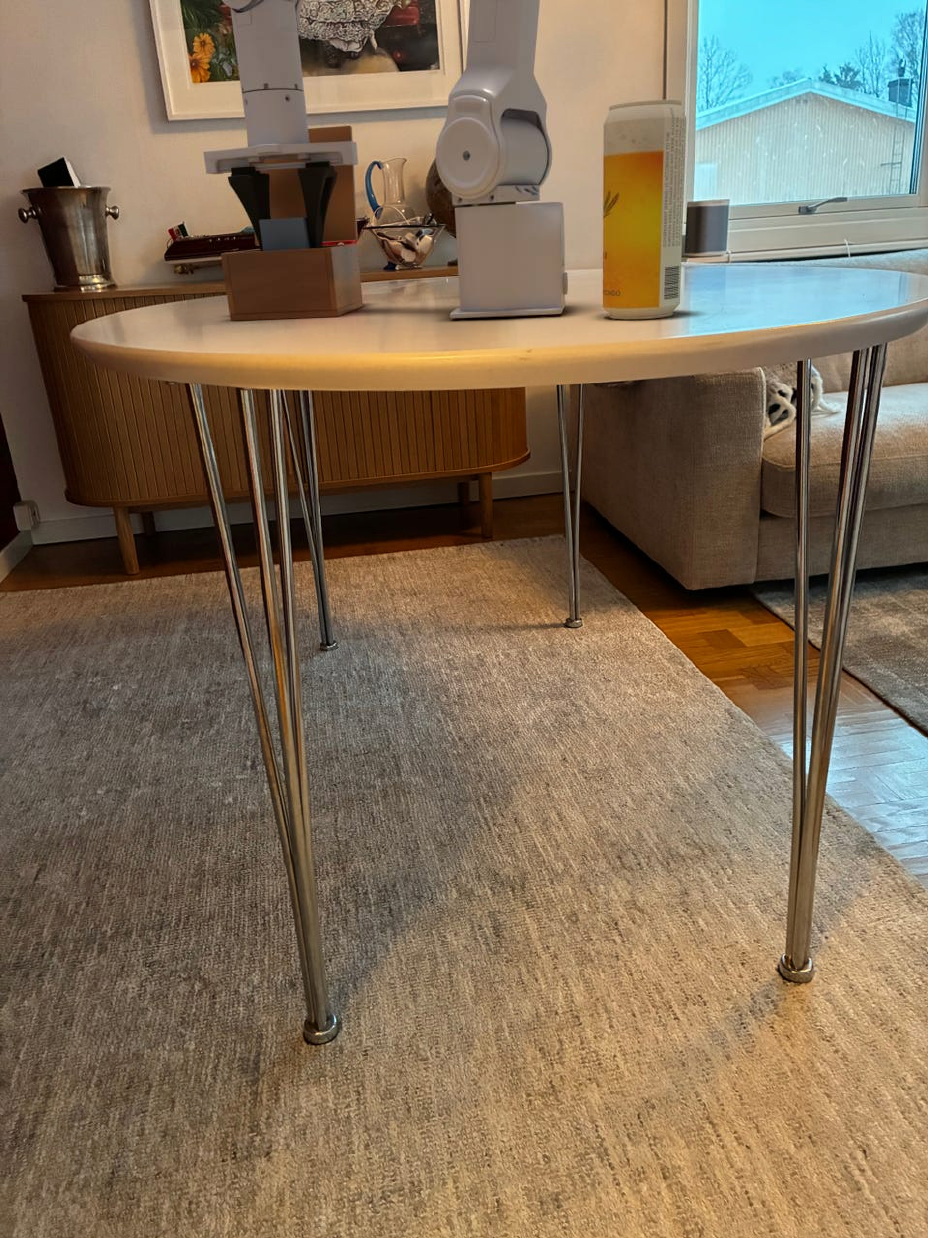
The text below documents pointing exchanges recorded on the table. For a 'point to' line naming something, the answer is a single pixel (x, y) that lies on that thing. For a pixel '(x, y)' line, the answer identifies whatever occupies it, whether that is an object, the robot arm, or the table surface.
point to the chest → (292, 282)
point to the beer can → (643, 208)
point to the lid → (290, 197)
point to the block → (284, 234)
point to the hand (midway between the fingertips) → (291, 251)
